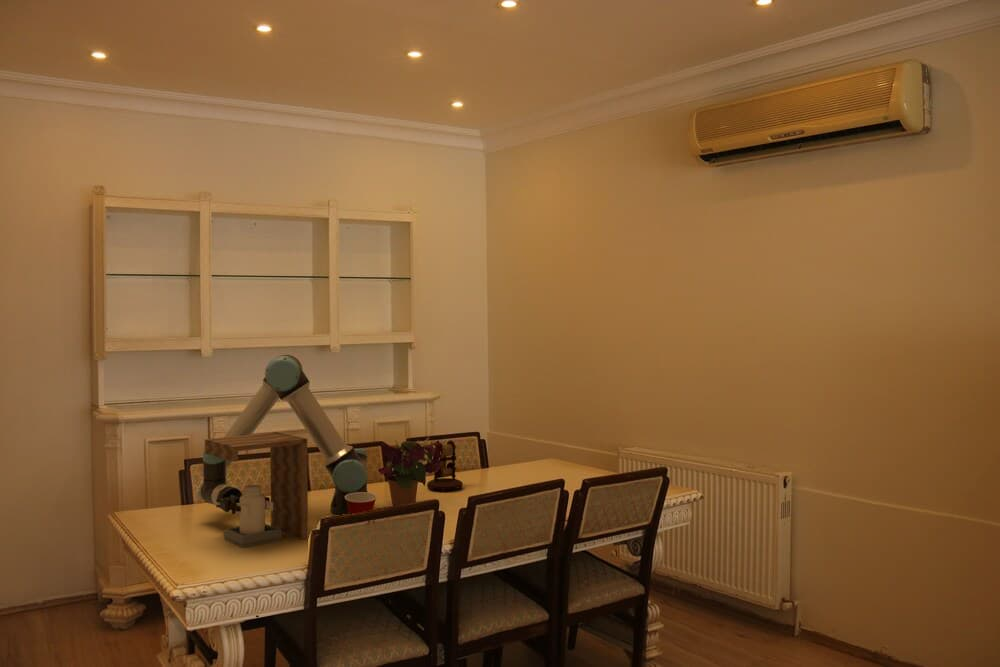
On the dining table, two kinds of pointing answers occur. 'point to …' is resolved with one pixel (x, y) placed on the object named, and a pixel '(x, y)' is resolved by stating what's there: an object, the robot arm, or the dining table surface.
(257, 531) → the pill bottle
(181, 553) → the dining table surface
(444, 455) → the dark mug tree
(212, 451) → the wooden l-shaped stand
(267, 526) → the tray
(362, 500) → the plastic cup
